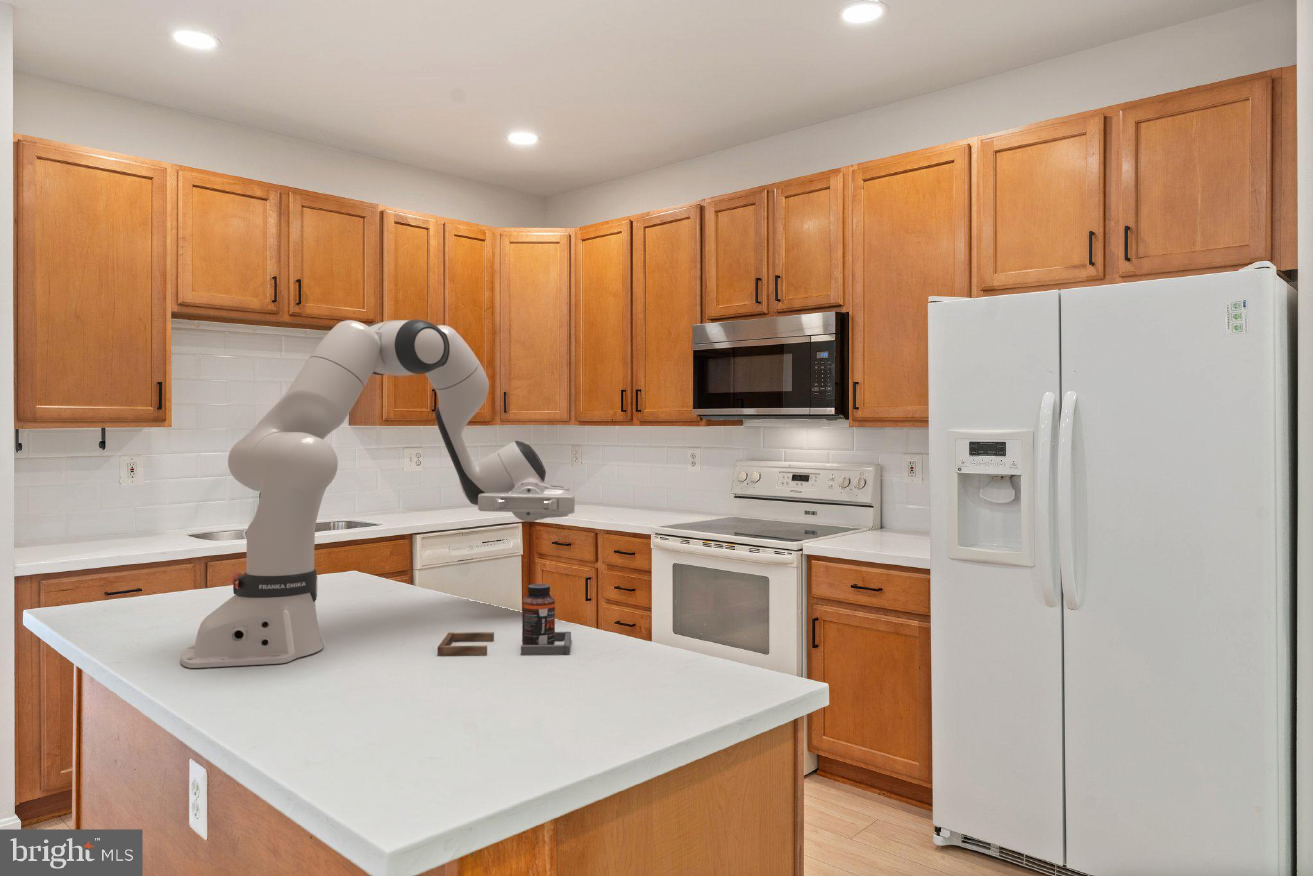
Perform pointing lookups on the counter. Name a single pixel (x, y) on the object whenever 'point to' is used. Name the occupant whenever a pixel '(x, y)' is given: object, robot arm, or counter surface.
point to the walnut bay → (448, 650)
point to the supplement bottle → (538, 616)
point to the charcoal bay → (550, 646)
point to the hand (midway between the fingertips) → (524, 505)
